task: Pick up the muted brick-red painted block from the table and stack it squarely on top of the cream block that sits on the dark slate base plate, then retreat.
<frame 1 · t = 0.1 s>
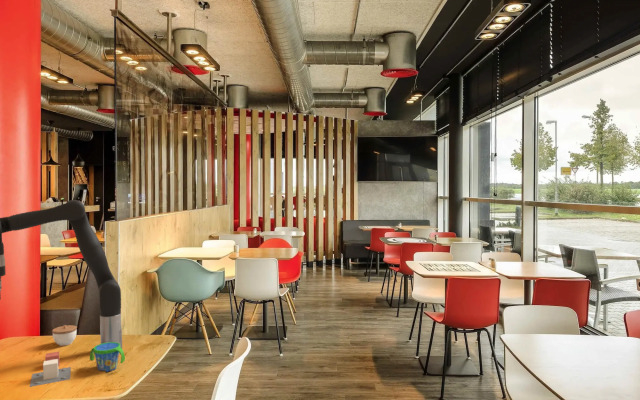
lidded jar: (65, 344, 226), on the table
base plate: (51, 378, 185), on the table
red brick: (52, 367, 196), on the table
cream brick: (51, 376, 185), point 1 cm above the table, touching base plate
snack cup: (107, 369, 194), on the table
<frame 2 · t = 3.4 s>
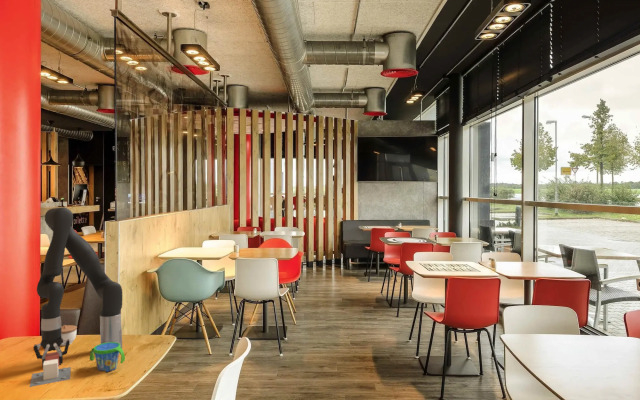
hand: (52, 365, 196), 1 cm above the table, fingers closed on red brick, 5 cm apart
red brick: (52, 367, 196), on the table, touching gripper
everything else where it was.
when the fingers open (9 cm above the table, at t = 7.8 s): red brick stays where it is, resting on cream brick.
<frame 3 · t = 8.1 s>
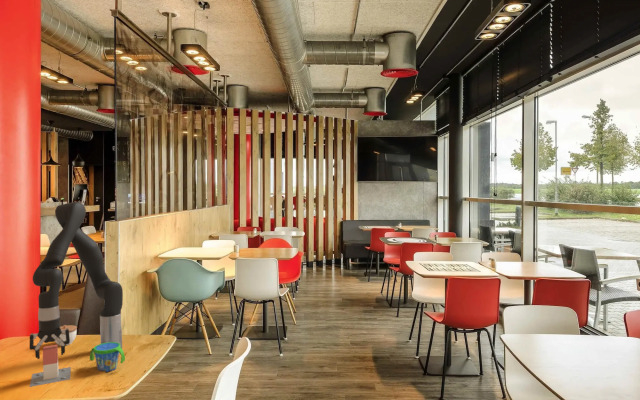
hand: (50, 356, 184), 9 cm above the table, fingers open, 8 cm apart
red brick: (50, 362, 185), point 7 cm above the table, touching cream brick
cream brick: (51, 376, 185), point 1 cm above the table, touching base plate, red brick
everything else where it was.
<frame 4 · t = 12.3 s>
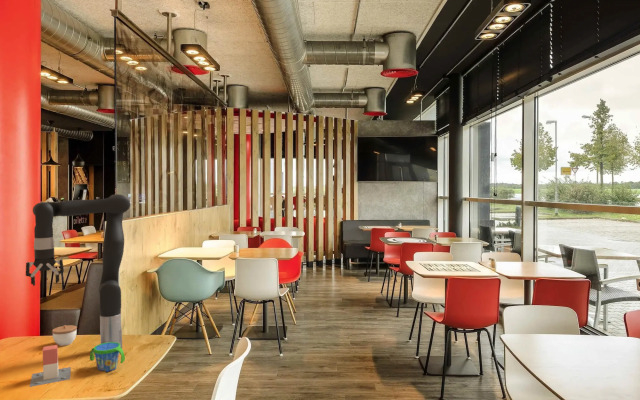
hand: (45, 284, 198), 36 cm above the table, fingers open, 8 cm apart
nothing on the table moved.
at the end: red brick 0.1 cm off-centre on the cream brick, point 6.0 cm above the cream brick's base; red brick tilted 0°; cream brick 0.0 cm from the base plate (horizontally) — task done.
